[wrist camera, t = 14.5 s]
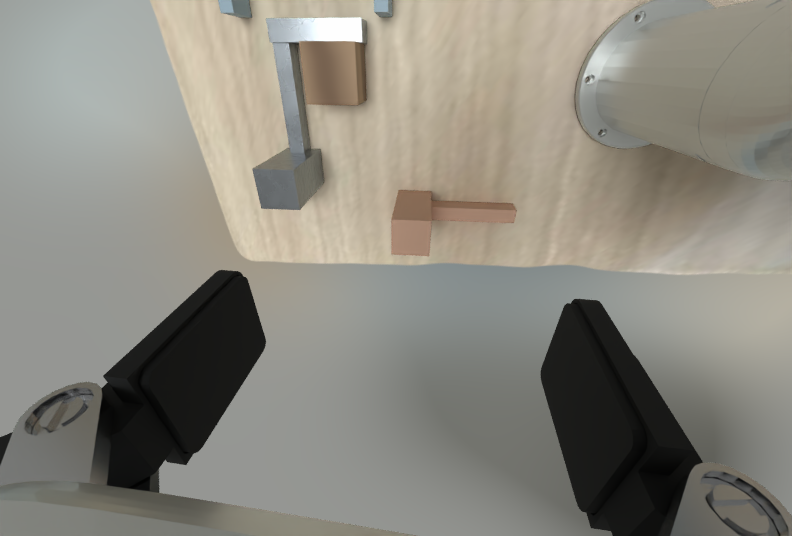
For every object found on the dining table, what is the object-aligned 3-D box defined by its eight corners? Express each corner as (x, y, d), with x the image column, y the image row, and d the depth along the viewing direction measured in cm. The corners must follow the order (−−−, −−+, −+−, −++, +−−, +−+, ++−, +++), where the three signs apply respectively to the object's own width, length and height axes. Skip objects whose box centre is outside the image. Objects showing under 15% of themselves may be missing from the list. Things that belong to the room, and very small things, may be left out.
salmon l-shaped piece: (398, 220, 42) (391, 254, 34) (398, 190, 40) (391, 219, 32) (508, 224, 41) (526, 260, 33) (514, 194, 39) (535, 225, 31)
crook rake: (371, 184, 40) (358, 212, 32) (293, 181, 40) (261, 208, 33) (366, 21, 31) (345, 7, 24) (266, 21, 32) (215, 8, 24)
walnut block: (364, 44, 32) (354, 41, 28) (366, 100, 35) (358, 105, 31) (315, 44, 33) (298, 41, 28) (321, 99, 35) (306, 104, 31)
